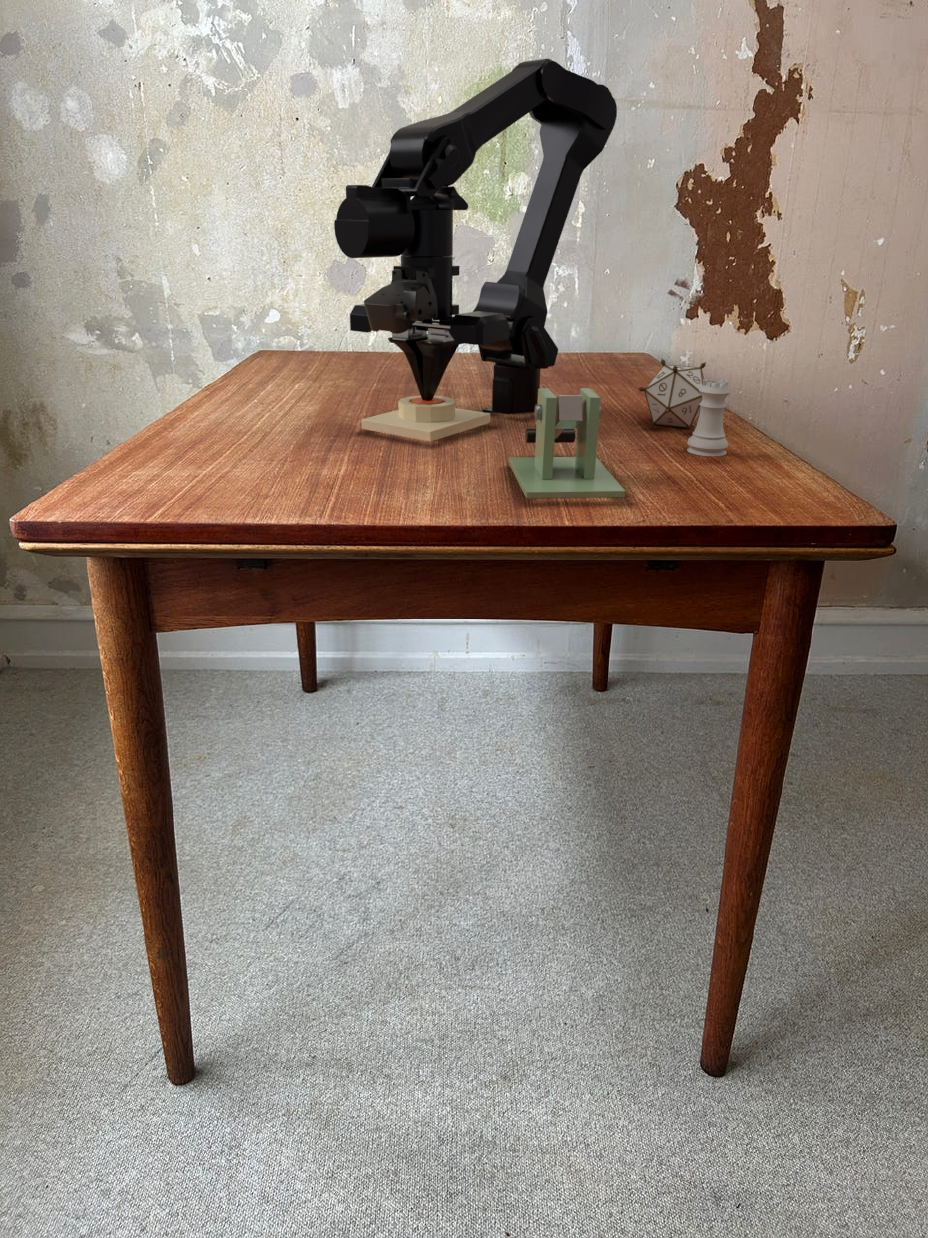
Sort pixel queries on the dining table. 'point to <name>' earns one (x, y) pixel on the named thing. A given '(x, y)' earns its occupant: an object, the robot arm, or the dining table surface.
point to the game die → (675, 395)
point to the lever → (563, 419)
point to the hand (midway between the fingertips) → (427, 399)
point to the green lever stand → (565, 473)
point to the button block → (426, 420)
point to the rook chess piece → (710, 420)
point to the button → (430, 402)
